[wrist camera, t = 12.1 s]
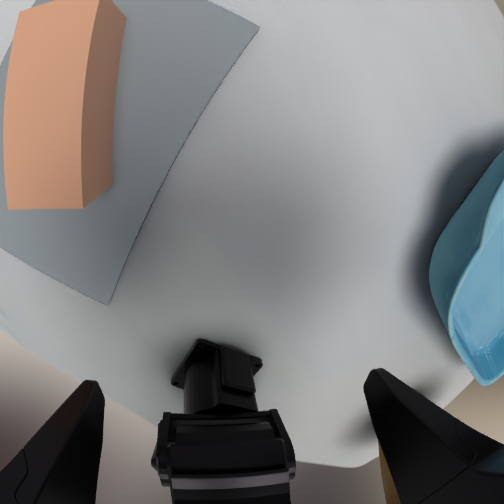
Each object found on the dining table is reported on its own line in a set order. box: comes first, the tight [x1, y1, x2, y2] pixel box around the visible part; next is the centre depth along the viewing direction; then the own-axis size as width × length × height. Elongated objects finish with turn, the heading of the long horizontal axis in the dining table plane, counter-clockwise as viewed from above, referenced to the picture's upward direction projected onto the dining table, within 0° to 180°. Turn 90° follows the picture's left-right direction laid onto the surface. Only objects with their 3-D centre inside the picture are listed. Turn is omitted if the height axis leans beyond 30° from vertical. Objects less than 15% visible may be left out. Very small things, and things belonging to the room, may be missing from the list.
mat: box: [0, 0, 260, 306], centre depth 15 cm, size 22×16×1 cm
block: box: [3, 0, 127, 210], centre depth 12 cm, size 5×5×11 cm
